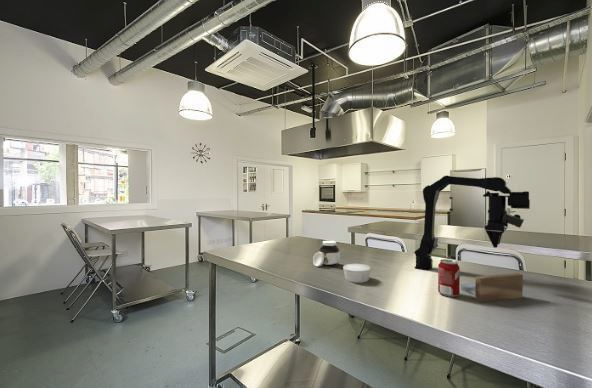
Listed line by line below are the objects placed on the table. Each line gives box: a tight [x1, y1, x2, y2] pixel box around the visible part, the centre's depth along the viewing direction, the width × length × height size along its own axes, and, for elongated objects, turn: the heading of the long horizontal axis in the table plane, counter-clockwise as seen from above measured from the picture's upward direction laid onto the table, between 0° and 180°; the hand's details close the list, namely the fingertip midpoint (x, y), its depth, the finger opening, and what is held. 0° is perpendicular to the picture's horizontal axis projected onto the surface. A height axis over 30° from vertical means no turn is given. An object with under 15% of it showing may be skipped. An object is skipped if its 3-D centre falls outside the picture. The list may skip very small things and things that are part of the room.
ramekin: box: [342, 263, 371, 284], centre depth 114 cm, size 11×11×5 cm
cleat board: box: [460, 272, 524, 303], centre depth 99 cm, size 12×18×8 cm, turn 103°
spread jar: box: [312, 240, 341, 268], centre depth 136 cm, size 12×11×12 cm
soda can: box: [437, 258, 461, 298], centre depth 98 cm, size 7×7×12 cm
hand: (496, 245), depth 112 cm, fingers open, 9 cm apart
